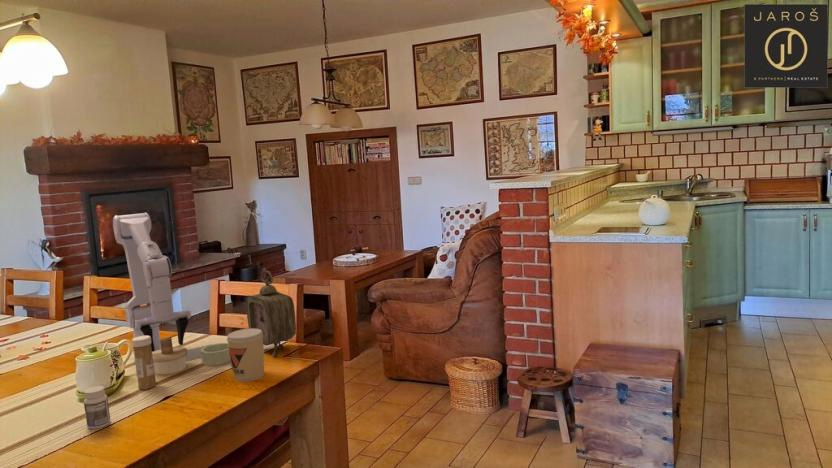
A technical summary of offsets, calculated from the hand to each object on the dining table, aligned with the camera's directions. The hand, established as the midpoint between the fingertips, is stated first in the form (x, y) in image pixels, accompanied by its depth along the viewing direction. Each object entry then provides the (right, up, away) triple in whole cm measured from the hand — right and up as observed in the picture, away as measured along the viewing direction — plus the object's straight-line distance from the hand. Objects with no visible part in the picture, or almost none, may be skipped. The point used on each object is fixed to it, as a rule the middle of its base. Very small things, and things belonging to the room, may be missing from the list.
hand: (166, 347), depth 170 cm
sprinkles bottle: (0, -8, -12) cm, 14 cm away
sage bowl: (+13, -5, +6) cm, 15 cm away
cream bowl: (0, -7, +1) cm, 7 cm away
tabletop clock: (+28, -4, +12) cm, 31 cm away
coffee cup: (+26, -6, -9) cm, 28 cm away
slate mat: (+4, -5, +14) cm, 16 cm away
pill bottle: (-1, -11, -34) cm, 36 cm away
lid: (0, -3, 0) cm, 3 cm away
